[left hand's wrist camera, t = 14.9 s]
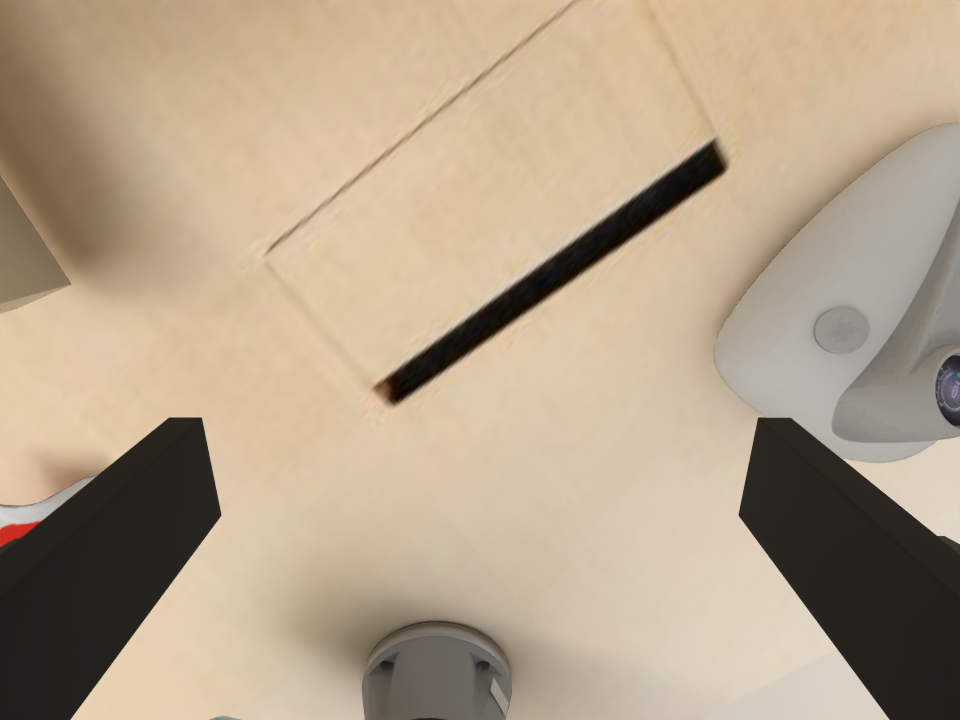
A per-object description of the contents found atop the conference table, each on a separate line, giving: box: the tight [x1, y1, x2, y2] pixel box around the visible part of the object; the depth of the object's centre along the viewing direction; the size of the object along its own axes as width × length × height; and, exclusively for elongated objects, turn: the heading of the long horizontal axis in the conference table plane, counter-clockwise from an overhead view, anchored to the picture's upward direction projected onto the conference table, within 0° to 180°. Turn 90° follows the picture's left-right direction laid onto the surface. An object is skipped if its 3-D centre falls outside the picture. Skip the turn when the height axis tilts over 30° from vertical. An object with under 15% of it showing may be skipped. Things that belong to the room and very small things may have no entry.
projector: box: [714, 123, 960, 463], centre depth 35 cm, size 22×23×15 cm
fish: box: [0, 475, 98, 546], centre depth 45 cm, size 11×16×10 cm
